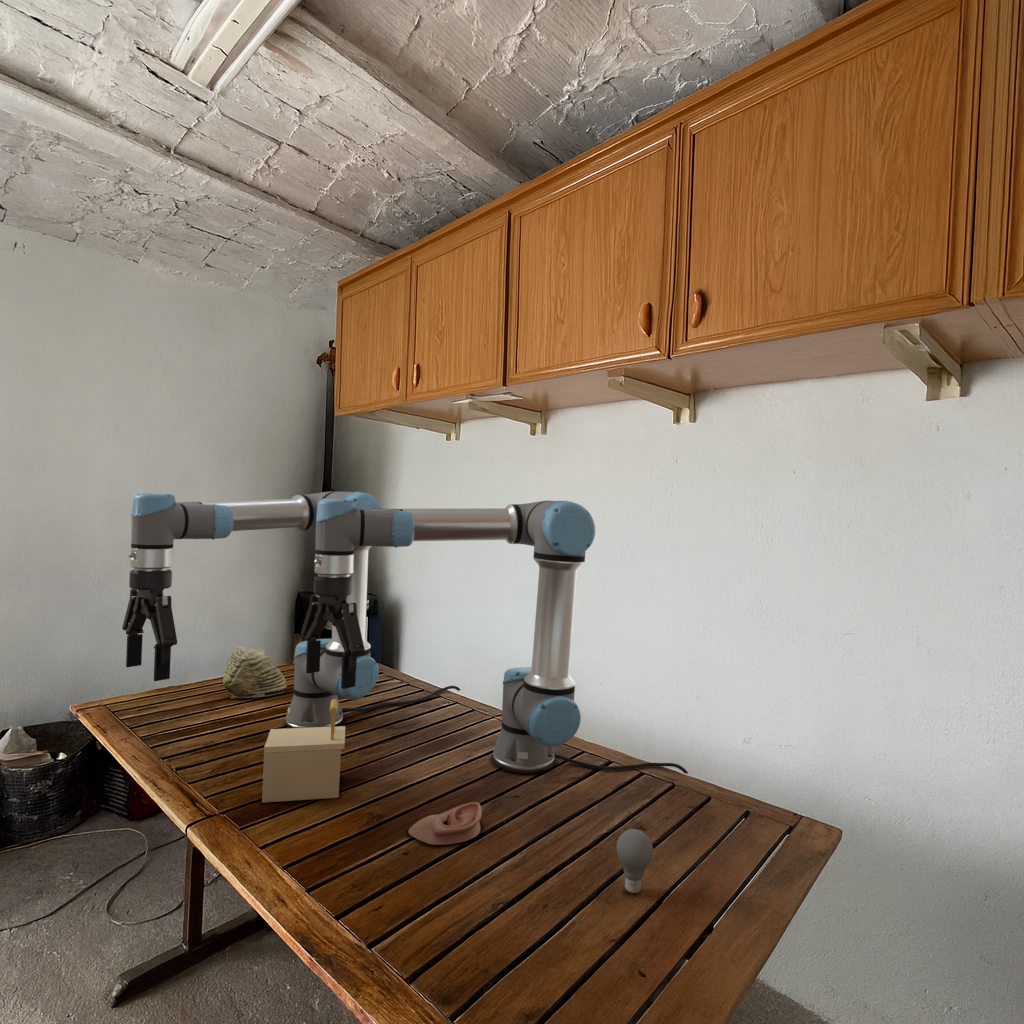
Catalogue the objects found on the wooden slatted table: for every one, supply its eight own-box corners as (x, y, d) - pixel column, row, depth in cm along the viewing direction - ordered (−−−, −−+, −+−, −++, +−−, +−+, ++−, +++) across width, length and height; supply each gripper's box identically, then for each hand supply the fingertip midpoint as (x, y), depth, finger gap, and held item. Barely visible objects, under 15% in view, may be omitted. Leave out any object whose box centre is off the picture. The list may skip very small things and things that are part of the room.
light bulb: (610, 879, 108) (613, 822, 108) (644, 879, 109) (647, 822, 109) (619, 902, 102) (622, 840, 102) (655, 901, 103) (658, 840, 103)
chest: (339, 776, 144) (341, 732, 143) (338, 797, 134) (340, 749, 134) (268, 781, 140) (270, 735, 140) (262, 802, 130) (264, 753, 130)
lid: (345, 731, 144) (346, 695, 143) (344, 749, 134) (346, 710, 134) (270, 734, 140) (271, 697, 140) (264, 753, 130) (265, 713, 130)
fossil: (218, 695, 195) (220, 647, 195) (278, 685, 208) (279, 640, 207) (228, 703, 189) (230, 653, 188) (289, 692, 201) (290, 645, 201)
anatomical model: (402, 819, 118) (423, 791, 129) (402, 840, 118) (422, 811, 129) (471, 829, 115) (486, 801, 126) (470, 851, 115) (486, 820, 126)
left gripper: (107, 563, 134) (103, 663, 134) (158, 576, 118) (153, 689, 118) (145, 562, 140) (141, 658, 140) (198, 574, 124) (194, 682, 124)
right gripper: (286, 569, 134) (283, 669, 134) (351, 583, 117) (347, 698, 117) (318, 567, 139) (315, 663, 140) (385, 581, 122) (381, 690, 122)
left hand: (147, 672), depth 129 cm, fingers open, 13 cm apart
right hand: (329, 679), depth 128 cm, fingers open, 13 cm apart
